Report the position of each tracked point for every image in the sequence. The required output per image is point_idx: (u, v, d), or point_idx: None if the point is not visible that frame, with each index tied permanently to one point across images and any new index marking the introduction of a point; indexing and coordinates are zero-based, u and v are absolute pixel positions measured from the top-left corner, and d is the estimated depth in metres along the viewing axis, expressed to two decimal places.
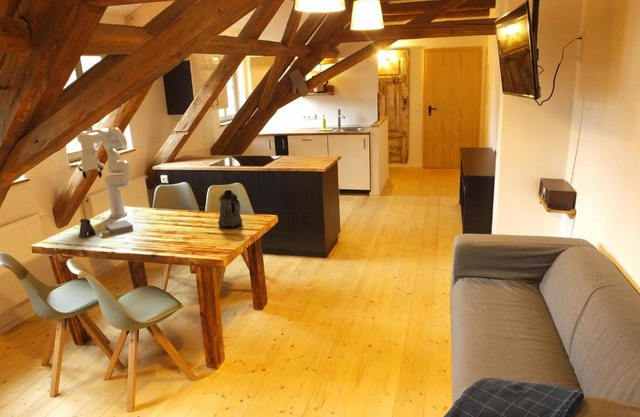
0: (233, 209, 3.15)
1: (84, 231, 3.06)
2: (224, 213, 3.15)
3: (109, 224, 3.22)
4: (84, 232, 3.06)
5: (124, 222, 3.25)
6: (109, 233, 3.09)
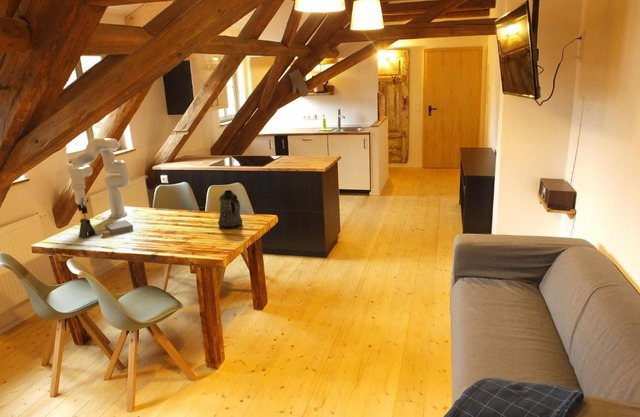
0: (233, 209, 3.15)
1: (84, 231, 3.06)
2: (224, 213, 3.15)
3: (109, 224, 3.22)
4: (84, 232, 3.06)
5: (124, 222, 3.25)
6: (109, 233, 3.09)
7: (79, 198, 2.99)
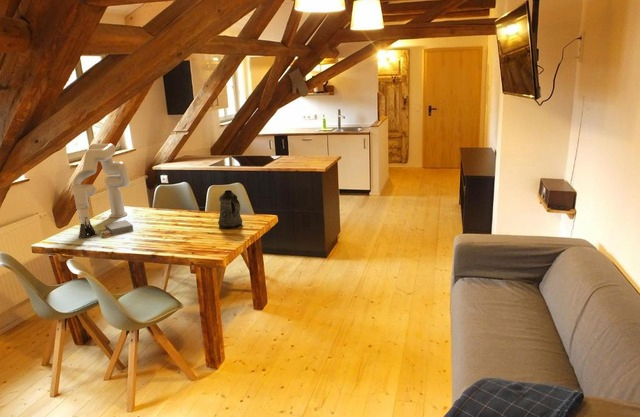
0: (233, 209, 3.15)
1: (84, 231, 3.06)
2: (224, 213, 3.15)
3: (109, 224, 3.22)
4: (84, 232, 3.06)
5: (124, 222, 3.25)
6: (109, 233, 3.09)
7: (83, 218, 3.02)
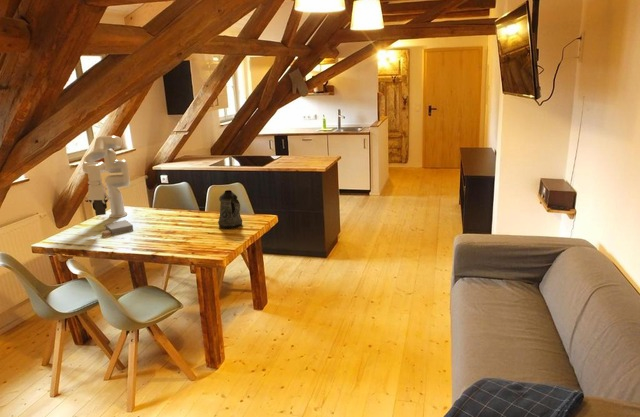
0: (233, 209, 3.15)
1: (102, 207, 3.10)
2: (224, 213, 3.15)
3: (109, 224, 3.22)
4: (103, 208, 3.10)
5: (124, 222, 3.25)
6: (109, 233, 3.09)
7: (103, 193, 3.07)
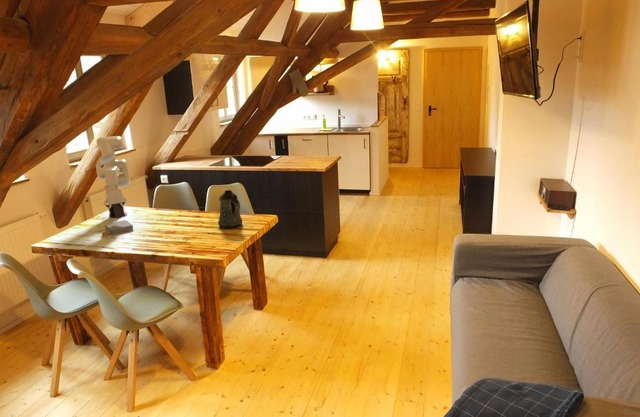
0: (233, 209, 3.15)
1: (121, 210, 3.18)
2: (224, 213, 3.15)
3: (109, 224, 3.22)
4: (122, 210, 3.18)
5: (124, 222, 3.25)
6: (109, 233, 3.09)
7: None
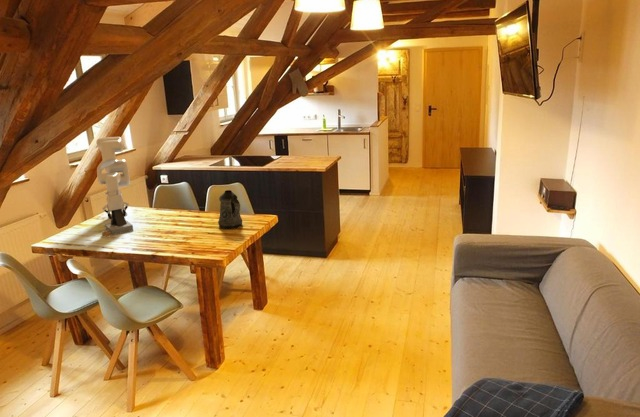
0: (233, 209, 3.15)
1: (123, 217, 3.20)
2: (224, 213, 3.15)
3: (109, 224, 3.22)
4: (123, 218, 3.20)
5: None
6: (109, 233, 3.09)
7: None
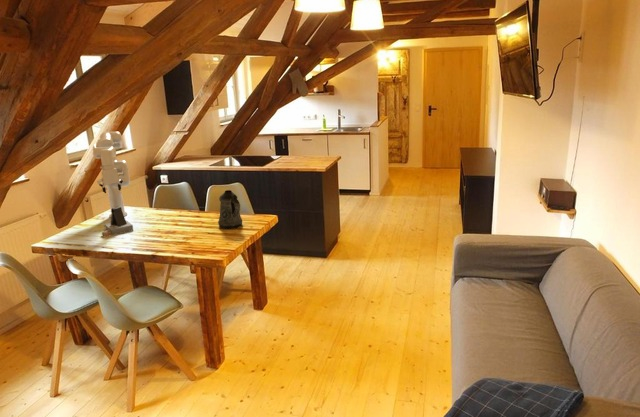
0: (233, 209, 3.15)
1: (123, 217, 3.20)
2: (224, 213, 3.15)
3: (109, 224, 3.22)
4: (123, 218, 3.20)
5: None
6: (109, 233, 3.10)
7: (118, 176, 3.20)
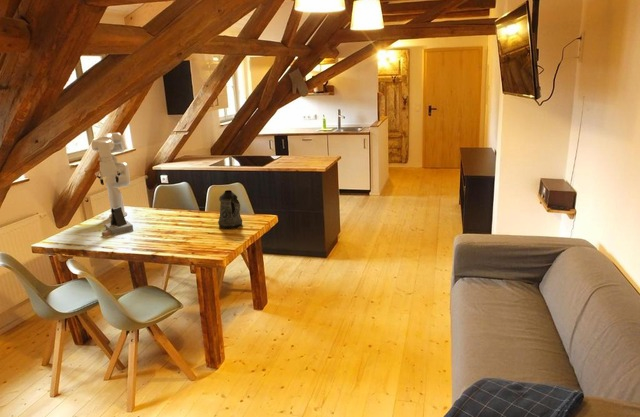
0: (233, 209, 3.15)
1: (123, 217, 3.20)
2: (224, 213, 3.15)
3: (109, 224, 3.22)
4: (123, 218, 3.20)
5: None
6: (109, 233, 3.10)
7: (116, 168, 3.24)
